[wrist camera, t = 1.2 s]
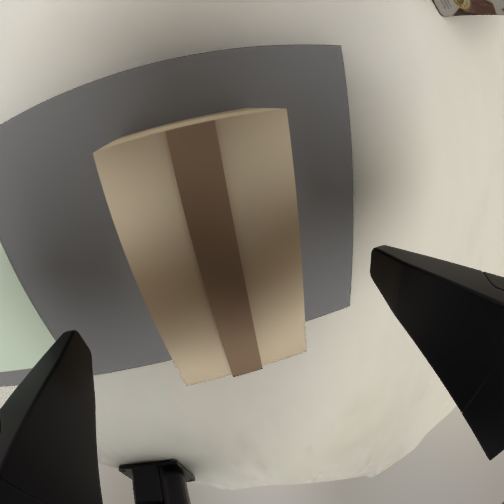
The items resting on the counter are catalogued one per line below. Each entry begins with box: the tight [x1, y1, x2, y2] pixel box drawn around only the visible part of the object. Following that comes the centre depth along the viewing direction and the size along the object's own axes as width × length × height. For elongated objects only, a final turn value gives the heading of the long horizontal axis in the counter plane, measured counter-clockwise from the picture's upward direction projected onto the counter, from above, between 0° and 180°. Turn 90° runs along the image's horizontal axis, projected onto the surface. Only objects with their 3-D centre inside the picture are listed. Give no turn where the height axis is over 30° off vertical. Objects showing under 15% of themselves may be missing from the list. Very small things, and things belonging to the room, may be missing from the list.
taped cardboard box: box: [93, 108, 306, 386], centre depth 10 cm, size 9×5×4 cm, turn 9°
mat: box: [0, 45, 353, 387], centre depth 11 cm, size 14×28×1 cm, turn 99°
